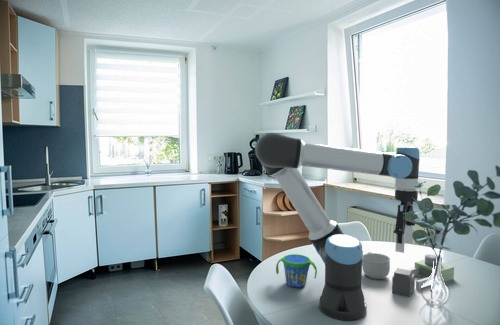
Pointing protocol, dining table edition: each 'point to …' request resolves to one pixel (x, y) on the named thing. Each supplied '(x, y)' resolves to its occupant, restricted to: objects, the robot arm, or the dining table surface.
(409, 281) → the dark grey stepped block
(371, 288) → the dining table surface
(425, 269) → the green and grey blocks
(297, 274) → the snack cup
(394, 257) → the dining table surface
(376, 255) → the teacup
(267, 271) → the dining table surface
